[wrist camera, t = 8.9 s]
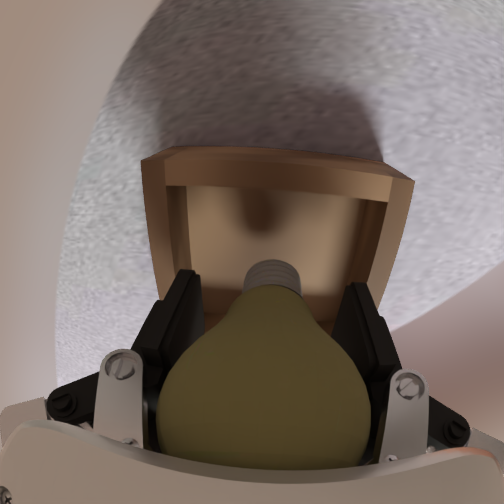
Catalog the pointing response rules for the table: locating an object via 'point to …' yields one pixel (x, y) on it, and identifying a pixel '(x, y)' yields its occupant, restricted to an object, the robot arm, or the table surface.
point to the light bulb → (265, 386)
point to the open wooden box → (273, 221)
